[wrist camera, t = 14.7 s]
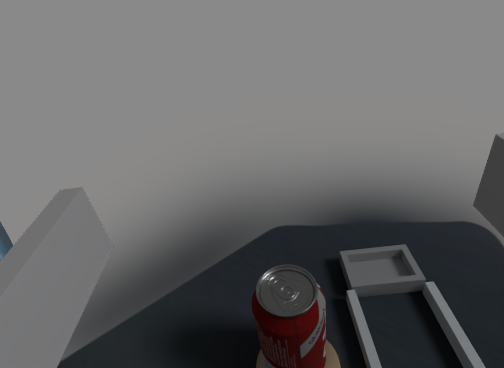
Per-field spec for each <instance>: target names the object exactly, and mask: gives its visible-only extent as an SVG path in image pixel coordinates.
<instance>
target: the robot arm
mask: <svg viewBox="0 0 504 368" xmlns="http://www.w3.org/2000/svg"><path fill="white" fill-rule="evenodd" d="M473 206H474V207H475V208H476V209H477V210H478V211H479V212H480V213H481V214H482V215H483V216H484V217H485V218H486V219H487V220H488V221H489V222H490V223H491V224H492V225H493V226H494V227H495V228H496V229H497V230H498V231H499V232H500V234H501V235H502V236H503V237H504V133H502V134H496V135H495V139H494V142H493V145H492V148H491V151H490V154H489V157H488V160H487V164H486V167H485V170H484V173H483V176H482V179H481V182H480V185H479V188H478V192H477V195H476V198H475V201H474V204H473ZM113 248H114V246H113V244H112V242H111V241H110V239H109V237H108V235H107V233H106V231H105V229H104V227H103V225H102V223H101V221H100V220H99V218H98V216H97V214H96V212H95V210H94V208H93V207H92V205H91V203H90V201H89V199H88V197H87V195H86V193H85V191H84V189H83V188H82V187H80V188H73V189H64V190H60V191H59V192H58V193H57V194H56V196H55V197H54V198H53V199H52V200H51V201H50V203H49V204H48V205H47V206H46V208H45V209H44V210H43V211H42V212H41V213H40V215H39V216H38V217H37V218H36V220H35V221H34V222H33V223H32V224H31V225H30V227H29V228H28V229H27V230H26V231H25V233H24V234H23V235H22V236H21V237H20V239H19V240H18V241H17V242H16V243H15V244H14V246H13V244H12V242H11V240H10V238H9V236H8V235H7V233H6V231H5V229H4V227H3V226H2V224H1V222H0V368H57V366H58V364H59V362H60V360H61V357H62V355H63V353H64V351H65V349H66V347H67V345H68V343H69V341H70V339H71V336H72V334H73V332H74V330H75V328H76V326H77V324H78V321H79V319H80V317H81V315H82V313H83V311H84V309H85V307H86V305H87V303H88V300H89V298H90V296H91V294H92V292H93V290H94V288H95V286H96V283H97V281H98V279H99V277H100V275H101V273H102V271H103V269H104V267H105V264H106V262H107V260H108V258H109V256H110V254H111V252H112V250H113Z"/></svg>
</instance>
